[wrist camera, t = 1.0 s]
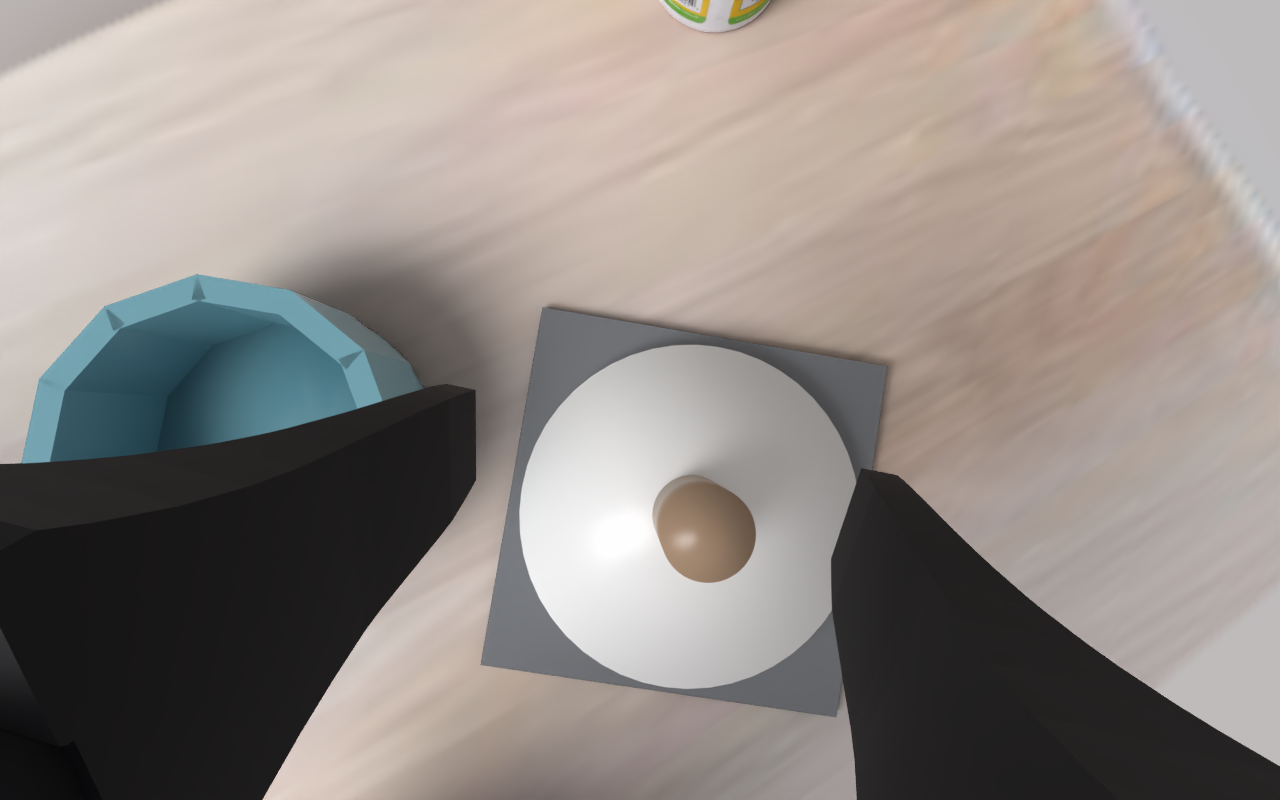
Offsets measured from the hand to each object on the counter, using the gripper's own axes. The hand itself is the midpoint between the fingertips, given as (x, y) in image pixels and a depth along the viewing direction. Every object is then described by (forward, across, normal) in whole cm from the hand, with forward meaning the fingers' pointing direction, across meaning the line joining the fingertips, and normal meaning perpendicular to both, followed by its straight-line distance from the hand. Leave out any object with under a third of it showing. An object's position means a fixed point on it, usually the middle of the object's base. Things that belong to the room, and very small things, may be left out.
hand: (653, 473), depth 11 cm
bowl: (+8, +15, +7) cm, 18 cm away
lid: (+10, -1, +8) cm, 13 cm away
